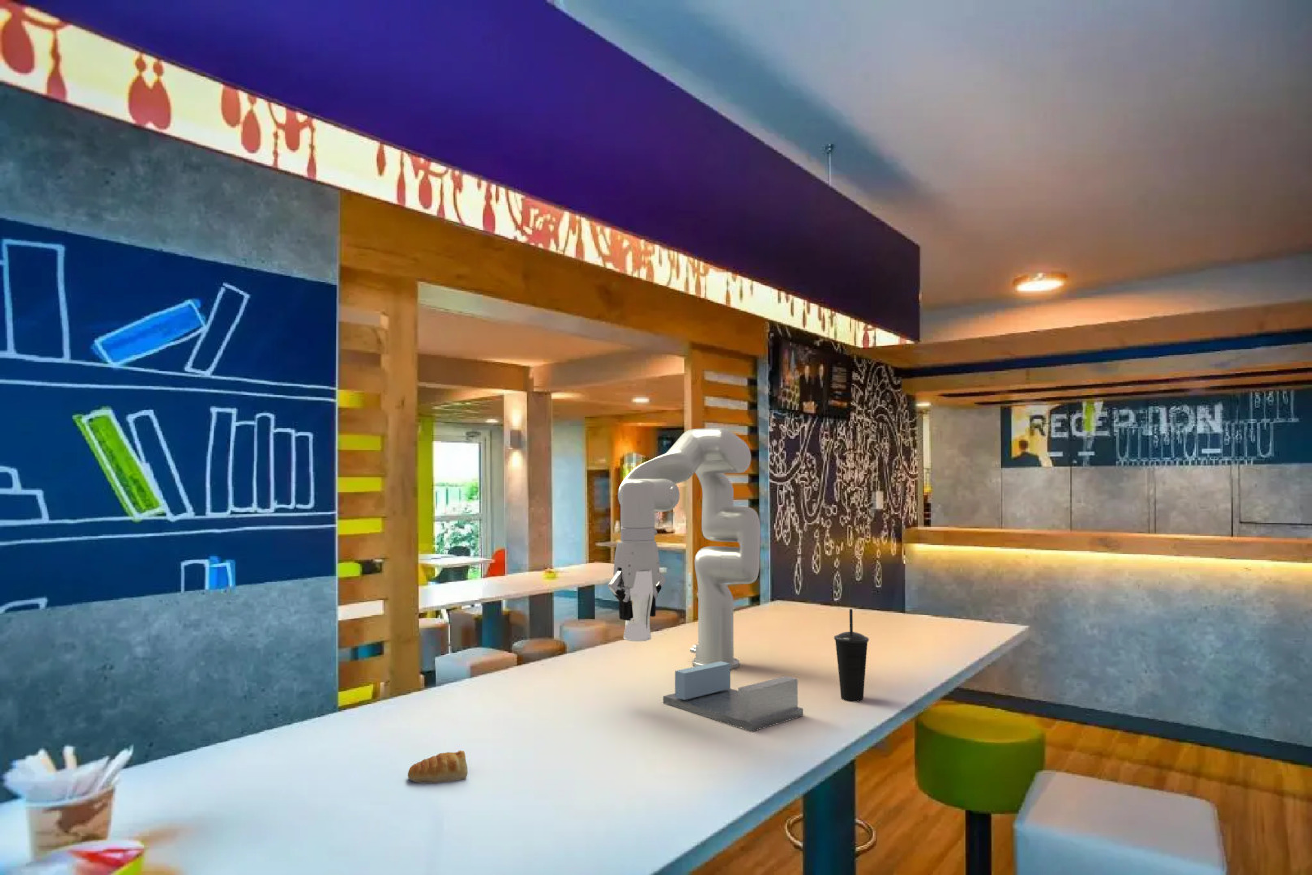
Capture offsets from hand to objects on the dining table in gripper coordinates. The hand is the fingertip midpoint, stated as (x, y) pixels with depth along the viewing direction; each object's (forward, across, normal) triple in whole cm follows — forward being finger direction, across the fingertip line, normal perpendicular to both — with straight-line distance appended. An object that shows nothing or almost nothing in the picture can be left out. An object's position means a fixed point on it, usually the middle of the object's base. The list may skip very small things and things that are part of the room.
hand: (637, 616), depth 167 cm
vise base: (+19, -14, +15) cm, 28 cm away
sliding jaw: (+17, -14, +7) cm, 23 cm away
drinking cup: (+20, -40, +27) cm, 53 cm away
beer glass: (+5, 0, 0) cm, 5 cm away
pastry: (+19, +50, +10) cm, 55 cm away
